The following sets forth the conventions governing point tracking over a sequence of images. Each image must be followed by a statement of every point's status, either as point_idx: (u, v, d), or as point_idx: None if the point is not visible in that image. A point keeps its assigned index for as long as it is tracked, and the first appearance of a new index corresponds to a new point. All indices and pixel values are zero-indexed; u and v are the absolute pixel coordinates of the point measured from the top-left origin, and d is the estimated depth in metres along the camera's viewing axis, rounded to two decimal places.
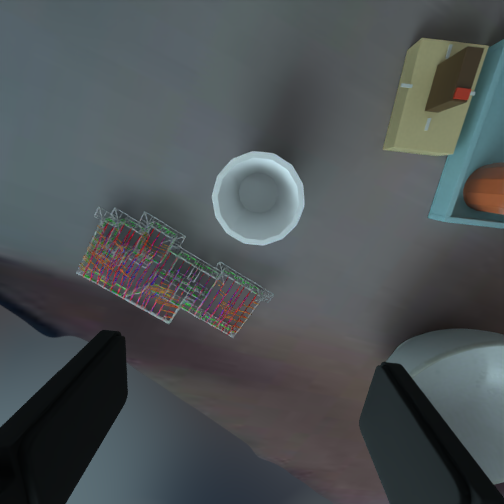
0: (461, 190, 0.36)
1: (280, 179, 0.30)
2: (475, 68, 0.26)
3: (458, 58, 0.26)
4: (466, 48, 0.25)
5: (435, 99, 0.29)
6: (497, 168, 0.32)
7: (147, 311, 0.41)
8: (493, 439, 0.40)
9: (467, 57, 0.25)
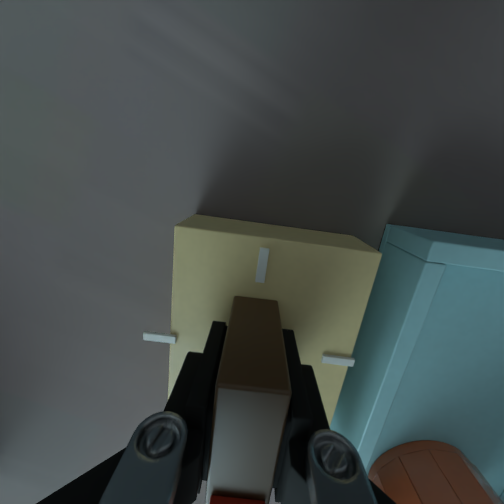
0: None
1: None
2: (269, 450, 0.06)
3: None
4: None
5: None
6: None
7: None
8: None
9: (227, 417, 0.06)
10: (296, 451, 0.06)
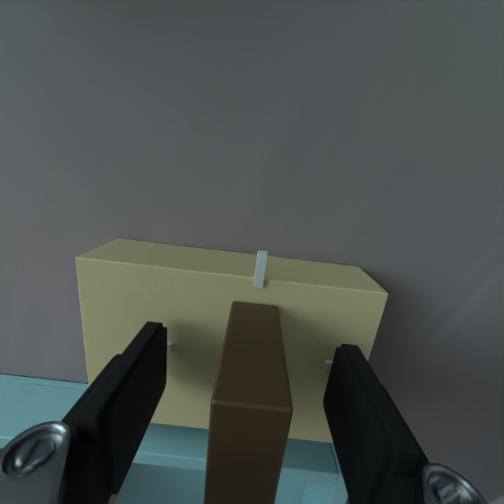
0: None
1: None
2: (269, 470, 0.06)
3: None
4: (212, 403, 0.05)
5: None
6: None
7: None
8: None
9: (223, 436, 0.05)
10: (402, 487, 0.06)
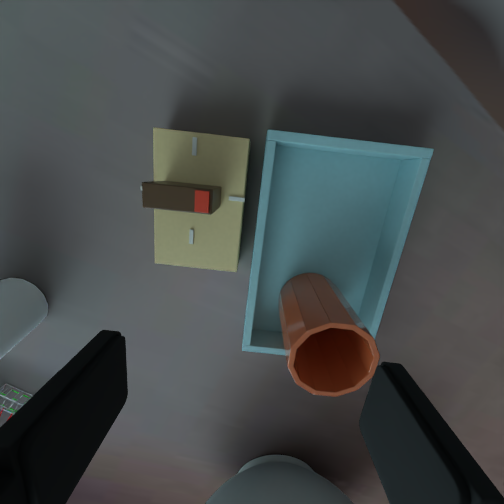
0: (276, 302, 0.28)
1: None
2: (168, 189, 0.17)
3: None
4: (145, 207, 0.18)
5: None
6: (293, 293, 0.23)
7: None
8: None
9: (156, 204, 0.17)
10: None
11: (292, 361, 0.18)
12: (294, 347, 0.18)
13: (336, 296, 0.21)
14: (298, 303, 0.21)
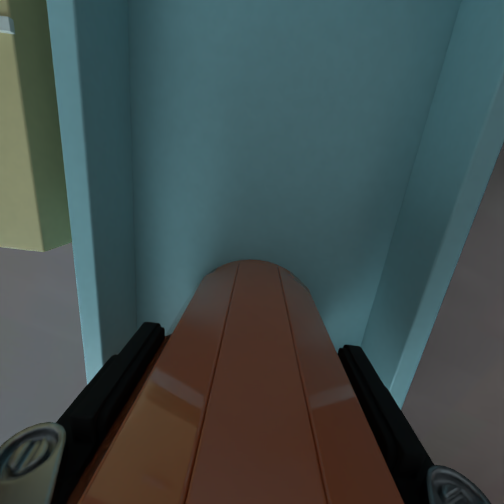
0: None
1: None
2: None
3: None
4: None
5: None
6: (186, 307, 0.09)
7: None
8: None
9: None
10: (407, 490, 0.06)
11: None
12: None
13: (289, 322, 0.07)
14: (168, 343, 0.07)
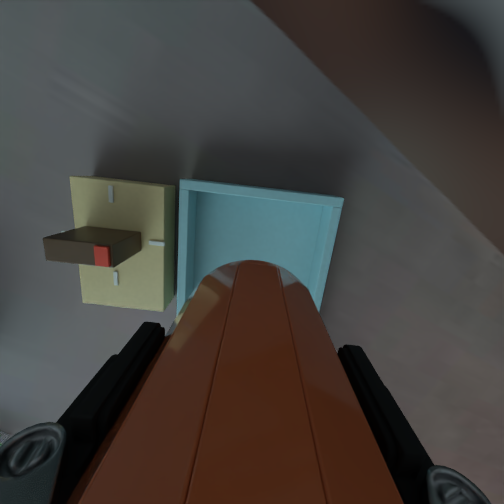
0: None
1: None
2: (68, 244, 0.17)
3: None
4: (49, 260, 0.18)
5: None
6: (186, 308, 0.09)
7: None
8: None
9: (58, 258, 0.18)
10: (407, 490, 0.06)
11: None
12: None
13: (289, 323, 0.07)
14: (168, 343, 0.07)
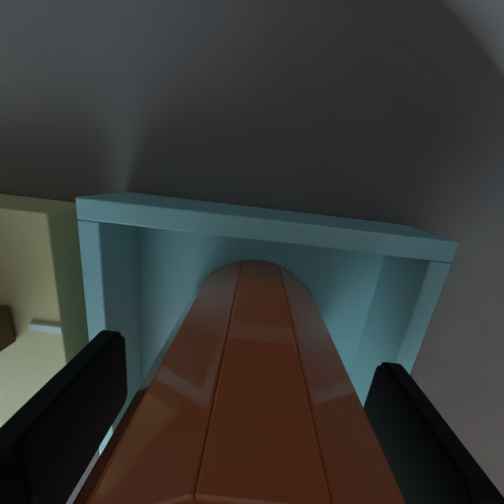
0: None
1: None
2: None
3: None
4: None
5: None
6: (191, 306, 0.09)
7: None
8: None
9: None
10: None
11: None
12: None
13: (291, 320, 0.07)
14: (175, 339, 0.07)
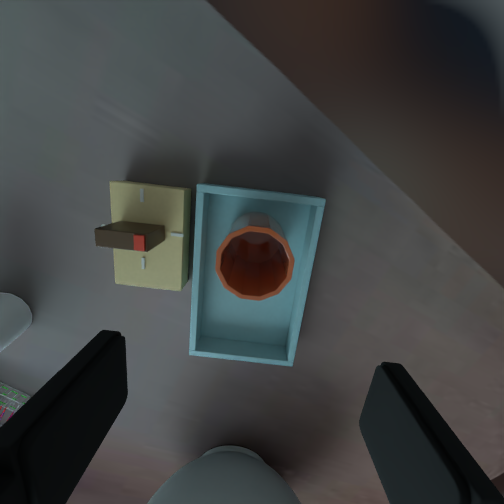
0: (220, 315, 0.33)
1: None
2: (114, 233, 0.23)
3: None
4: (98, 246, 0.23)
5: None
6: (234, 222, 0.26)
7: None
8: None
9: (105, 244, 0.23)
10: None
11: (218, 264, 0.21)
12: (219, 250, 0.21)
13: (268, 219, 0.24)
14: (233, 225, 0.24)
